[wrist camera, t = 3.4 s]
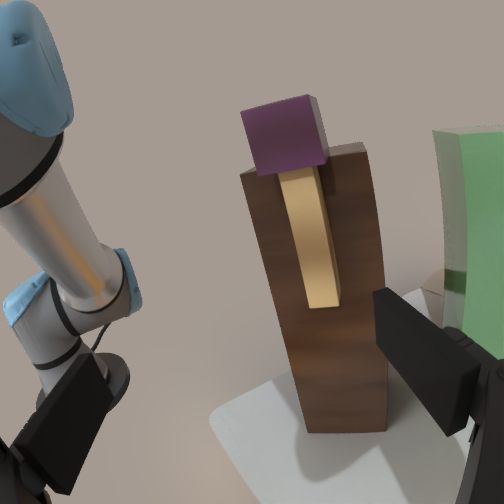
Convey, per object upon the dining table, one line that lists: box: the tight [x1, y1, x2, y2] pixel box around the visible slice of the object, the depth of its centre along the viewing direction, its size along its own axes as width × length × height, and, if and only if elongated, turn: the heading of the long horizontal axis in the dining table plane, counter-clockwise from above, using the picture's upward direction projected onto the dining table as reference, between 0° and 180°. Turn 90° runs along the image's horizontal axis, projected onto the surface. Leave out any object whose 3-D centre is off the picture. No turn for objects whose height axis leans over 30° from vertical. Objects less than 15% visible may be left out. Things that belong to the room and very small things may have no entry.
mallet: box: [240, 94, 341, 308], centre depth 22 cm, size 16×4×4 cm
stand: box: [240, 142, 388, 433], centre depth 32 cm, size 10×10×32 cm
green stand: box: [432, 125, 504, 360], centre depth 29 cm, size 10×10×32 cm
